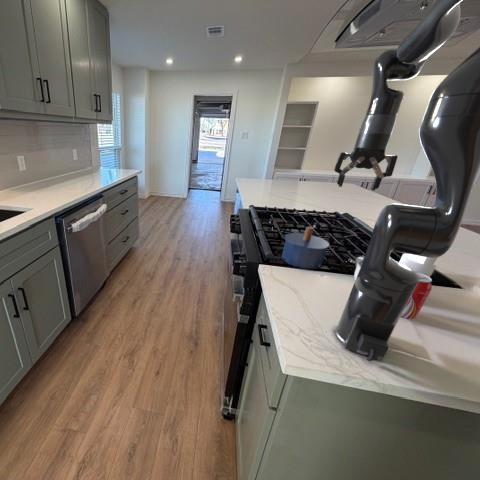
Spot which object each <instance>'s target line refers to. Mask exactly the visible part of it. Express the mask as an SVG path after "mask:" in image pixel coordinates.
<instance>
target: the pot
mask: <svg viewBox="0 0 480 480" xmlns="http://www.w3.org/2000/svg"><path fill="white" fill-rule="evenodd" d="M327 250H328V248H327V249H324V250H312V249H306V248H302V247H298V246H295V245H293V244H291V243H289V242H288V241H286V240H284V245H283V249H282V253H281V259H282V261H284V262H285V263H287V264H288V265H290V266H293V267H296V268H300V269H303V270H304V269H305V270H319V268H321V267H322V265H323V262H324V259H325V256H326V254H327V253H326V252H327ZM283 258H284V259H285V260H284V259H283Z"/></svg>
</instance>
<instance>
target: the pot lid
mask: <svg viewBox="0 0 480 480" xmlns="http://www.w3.org/2000/svg"><path fill="white" fill-rule="evenodd" d="M314 230H315V228H314V227H313V226H306V227H305V231H304V232H303V233H302V232H290V233H286V234H285V235H284V240H285V241H288V242H289V243H291V244H293V245H295V246H298V247H302V248H306V249H312V250H324V249H327V250H328V248H329V247H330V243H329V242H328V241H327V240H326V239H324V238H322V237H320V236H316V235H313V233H314Z"/></svg>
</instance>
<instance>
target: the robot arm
mask: <svg viewBox="0 0 480 480" xmlns="http://www.w3.org/2000/svg"><path fill="white" fill-rule="evenodd" d="M463 1H464V0H433V1H432V4H431V5H430V6H429V8H428V9H427V11H426V12H425V13H424V15H423V16H422V18H420V20H419V21H418V22H417V23H416V25H415V26H413V28H412V29H411V30H410V31H409V32H408V33H407V34H406V36H405V37H403V39H402V40H401V41H400V43H399V44H398V46H397V47H396V48H387V49H384V50H383V51H382V52H381V53H379V55H378V56H377V57H376V58H375V60H374V61H373V62H374V63H373V64H372V68H371V92H370V93H371V94H370V99H369V103H368V106H367V109H366V111H365V116H364V118H363V120H362V122H361V124H360V127H359V130H358V134H357V136H356V137H357V138H356V141H355V144H354V147H353V150H352V151H351V152H344V151H341V152H339V155H338V157H337V160H336V163H335V165H334V168H333V171H334V172H335V173H338V174H339V175H338V179H337V181H336V184H337V186H338V187H339V188H342V187H343V184H344V181H345V178H346V174H347V173H348V172H349V171H351V170H353V169H354V168H357V169H366V170H370V169H372V170H373V172H374V174H375V176H376V177H374V179H373V182H372V185H371V187H370V190H371V191H376V190H377V189H379V187H380V185H381V183H382V180H383V179H384V178H387V177H389V178H390V177H392V176H393V173H394V170H395V167H396V165H397V160H398V155H396V154H386V150H387V147H388V145H389V142H390V140H391V136H392V134H393V130H394V128H395V125H396V122H397V121H396V120H397V118H398V113H399V111H400V107H401V105H402V103H403V100H404V97H405V93H404V91H402V90H400V89H395V88H391V87H389V85H388V81H407V80H411V79H413V78H414V77H417V76H418V75H419V74H420V73H421V71H422V70H423V69H424V66H425V64H426V62H427V61H428V60H429V58H430V57H431V55H432V54H434V53H435V52H436V51H437V50H438V49H439V48H441V47H442V46H443V45H444V44H445V43H446V42H447V41H448V40H450V38H451V37H452V36H453V35H454V33H455V32H456V30H457V28H458V26H459V23H460V21H461V3H462V2H463ZM418 135H419V142H420V145H421V147H422V149H423V152H424V154H425V156H426V159H427V160H428V163H429V165H430V167H431V170H432V174H433V176H434V181H435V194H434V200H433V204H432V206H431V207H430V206H429V207H427V206H420V205H410V204H404V203H403V204H402V203H389V204H387V205H386V206H384V207H382V210H381V211H379V214H378V216H377V218H376V221H375V223H374V227H373V230H372V233H371V236H370V239H369V243H368V246H367V248H366V251H365V254H364V256H363V257H364V259H363V262H362V265H361V268H360V270H359V273H358V275H357V278H356V281H355V280H354V283H353V285H352V287H351V291H350V293H349V296H348V298H347V300H346V303H345V305H344V308H343V311H342V313H341V316H340V319H339V321H338V323H337V326H336V327H335V330H334V336H335V337H336V339H337V340H338V341H339V342H340V343H341V344H342V345H343V347H344V350H348V351H349V352H350V351H351V352H354V353H357V354H359V355H363V356H365V360H366V361H367V362H373V361H374V360H379V359H380V358H384V357H385V355H386V353H387V352H388V349H389V345H388V342H389V340H390V338H391V336H392V334H393V332H394V329H395V328H396V326H397V324H398V322H399V320H400V318H401V317H400V316H401V315H402V313H403V311H404V309H405V307H406V305H407V303H408V301H409V299H410V297H411V295H412V293H413V291H414V289H415V287H416V286H417V284H418V281H419V277H418V275H417V274H416V273H415V272H414V271H413V270H412V269H410V268H409V267H407V266H405V265H403V264H401V263H399V261H397V260H395V259H393V258H392V257H391V253H392V252H395V253H402V254H412V255H417V256H423V257H429V258H436V257H438V258H440V257H442V256H443V255H445V254H446V253H447V252H448V251H449V249H450V248H451V247H452V246H453V244H454V242H455V240H456V238H457V237H458V234H459V231H460V229H461V225H462V222H463V220H464V216H465V212H466V209H467V206H468V203H469V200H470V197H471V194H472V191H473V187H474V185H475V182H476V179H477V176H478V174H479V172H480V46H478V47H477V48H476V49H475V50H474V51H473V52H472V53H471V54H470V55H468V57H466V58H465V59H464V60H463V61H462V62H461V63H460V64H459V65H457V66H456V68H454V69H453V70H452V71H451V72H449V74H448V75H447V76H446V77H445V78H443V80H442V81H441V82H440V83H439V84H438V85H437V87H436V88H435V89H434V91H433V92H432V93H431V95H430V99H429V101H428V104H427V107H426V109H425V112H424V115H423V118H422V120H421V122H420V127H419V129H418ZM348 158H349V159H350V161H351V162H350V163H348V164H347V165H346V166H344V167H343V168H341V167H342V164H343V162H344V161H346V160H347V159H348ZM384 160H385V163H387V164H386V168H385V171H384V172H383V171H382V169H381V167H380V165H379V164H380V163H381V162H382V161H384Z"/></svg>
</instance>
